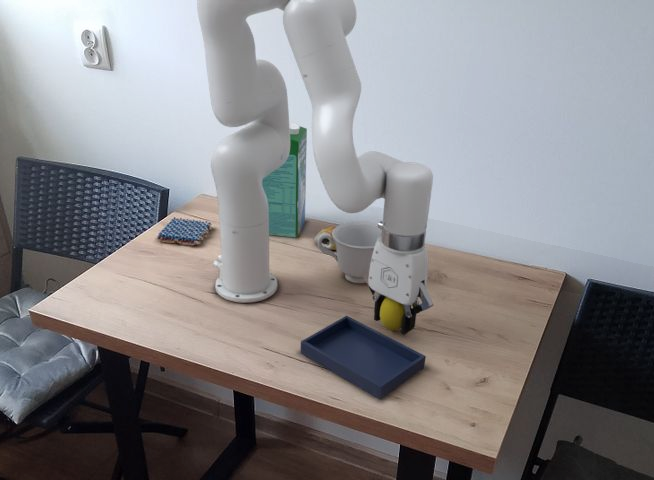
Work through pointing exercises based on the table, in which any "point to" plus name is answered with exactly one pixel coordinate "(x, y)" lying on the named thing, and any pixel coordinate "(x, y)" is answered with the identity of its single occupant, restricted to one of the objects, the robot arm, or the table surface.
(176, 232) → the woven mat
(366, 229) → the teacup
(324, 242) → the pastry
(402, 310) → the lemon
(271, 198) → the milk carton
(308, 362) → the table surface
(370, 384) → the tray
